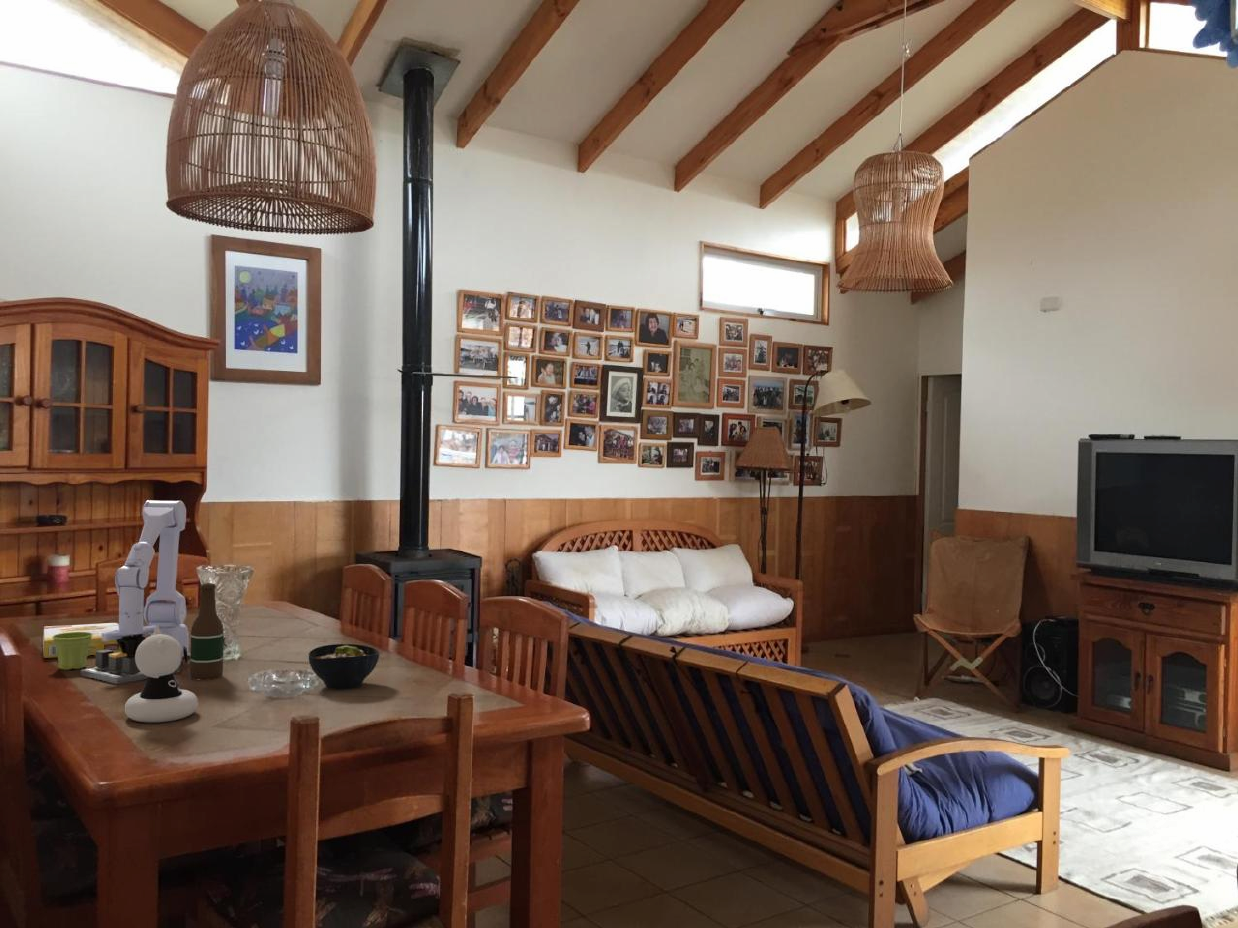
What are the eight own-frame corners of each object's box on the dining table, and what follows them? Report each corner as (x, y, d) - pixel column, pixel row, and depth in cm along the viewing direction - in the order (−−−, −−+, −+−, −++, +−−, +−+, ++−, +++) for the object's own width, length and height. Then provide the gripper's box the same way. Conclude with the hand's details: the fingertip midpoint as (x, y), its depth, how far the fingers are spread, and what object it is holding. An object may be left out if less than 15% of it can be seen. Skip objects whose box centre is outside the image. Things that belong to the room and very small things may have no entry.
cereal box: (44, 640, 272) (42, 624, 296) (43, 660, 272) (41, 642, 296) (126, 636, 282) (118, 620, 307) (125, 655, 282) (117, 638, 307)
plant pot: (74, 672, 257) (75, 639, 257) (43, 670, 259) (43, 637, 259) (100, 665, 266) (100, 632, 266) (70, 662, 268) (70, 630, 268)
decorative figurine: (203, 719, 215) (205, 627, 215) (129, 728, 207) (130, 633, 207) (191, 704, 227) (192, 617, 227) (120, 712, 220) (121, 622, 219)
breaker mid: (119, 667, 256) (120, 652, 256) (126, 669, 254) (126, 653, 254) (108, 669, 253) (108, 654, 253) (115, 671, 252) (115, 655, 251)
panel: (142, 664, 268) (143, 643, 268) (179, 672, 260) (179, 650, 260) (80, 675, 254) (81, 653, 254) (117, 684, 245) (117, 660, 245)
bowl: (315, 696, 237) (315, 654, 237) (302, 681, 252) (303, 642, 252) (386, 690, 245) (387, 649, 245) (369, 675, 260) (370, 637, 260)
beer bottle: (229, 675, 258) (231, 582, 257) (208, 681, 250) (209, 586, 250) (205, 672, 260) (206, 581, 260) (183, 678, 253) (184, 584, 253)
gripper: (113, 617, 248) (112, 671, 248) (166, 610, 260) (165, 662, 261) (97, 614, 252) (96, 668, 252) (150, 607, 264) (149, 658, 264)
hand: (130, 664), depth 257 cm, fingers closed
